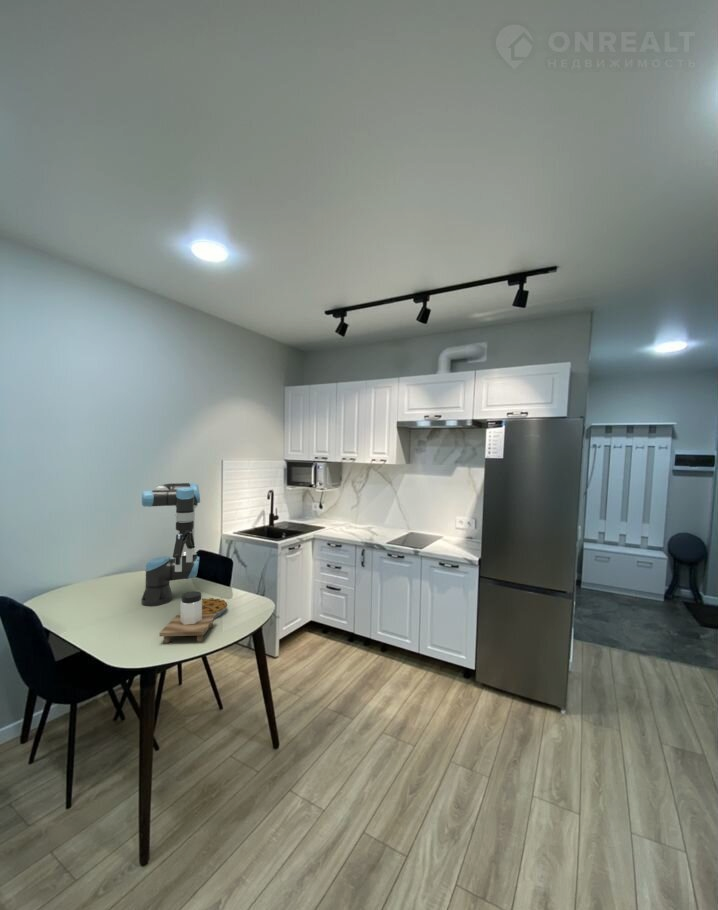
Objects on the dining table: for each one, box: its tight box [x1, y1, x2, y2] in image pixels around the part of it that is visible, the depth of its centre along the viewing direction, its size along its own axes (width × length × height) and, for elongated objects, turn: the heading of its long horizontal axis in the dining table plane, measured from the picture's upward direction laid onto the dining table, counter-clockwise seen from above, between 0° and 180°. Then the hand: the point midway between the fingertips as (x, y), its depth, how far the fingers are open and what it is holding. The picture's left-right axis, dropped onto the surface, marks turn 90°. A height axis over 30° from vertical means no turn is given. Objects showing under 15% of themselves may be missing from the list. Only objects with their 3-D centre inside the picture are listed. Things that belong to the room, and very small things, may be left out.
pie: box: [179, 597, 228, 619], centre depth 187 cm, size 22×22×5 cm
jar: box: [179, 590, 203, 625], centre depth 167 cm, size 9×8×12 cm
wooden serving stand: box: [158, 614, 216, 644], centre depth 165 cm, size 18×18×5 cm
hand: (183, 566), depth 171 cm, fingers open, 13 cm apart
